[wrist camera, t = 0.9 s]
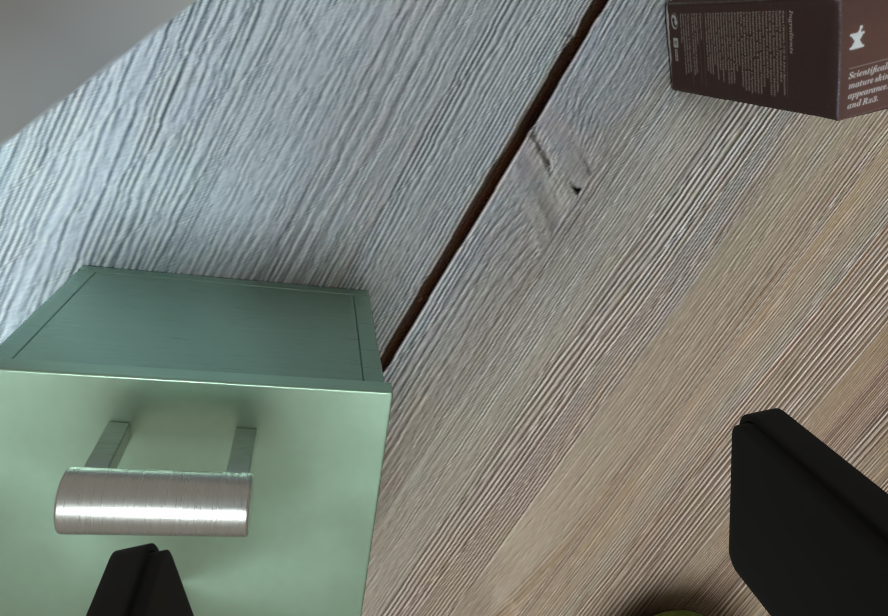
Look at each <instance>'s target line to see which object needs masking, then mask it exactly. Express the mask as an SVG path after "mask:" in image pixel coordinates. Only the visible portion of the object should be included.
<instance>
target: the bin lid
mask: <svg viewBox="0 0 888 616" xmlns="http://www.w3.org/2000/svg"><path fill="white" fill-rule="evenodd" d="M392 397H393V391H392V386H391V383H388V382H372V381H356V380H340V379H324V378H308V377H292V376H276V375H260V374H244V373H228V372H212V371H196V370H180V369H164V368H148V367H132V366H117V365H101V364H85V363H69V362H53V361H37V360H21V359H5V358H0V616H86V614H87V612H88V610H89V607H90V605H91V602H92V600H93V597H94V595H95V593H96V590H97V588H98V585H99V583H100V580H101V578H102V576H103V573H104V571H105V568H106V566H107V563H108V561H109V558H110V556H111V555H112V553H113V552H115V551H116V550H121V549H126V548H130V547H135V546H140V545H144V544H149V543H154V544H155V545H156V546H157V547H158V549H159V551H162V550H169V551H170V552H171V554H172V557H173V559H174V562H175V565H176V568H177V570H178V573H179V576H180V579H181V581H182V584H183V587H184V590H185V593H186V595H187V598H188V601H189V604H190V606H191V609H192V612H193V615H194V616H361V614H362V607H363V600H364V593H365V586H366V579H367V572H368V565H369V558H370V551H371V544H372V537H373V530H374V523H375V516H376V509H377V502H378V495H379V488H380V481H381V474H382V467H383V460H384V453H385V446H386V439H387V432H388V425H389V418H390V411H391V404H392Z"/></svg>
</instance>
